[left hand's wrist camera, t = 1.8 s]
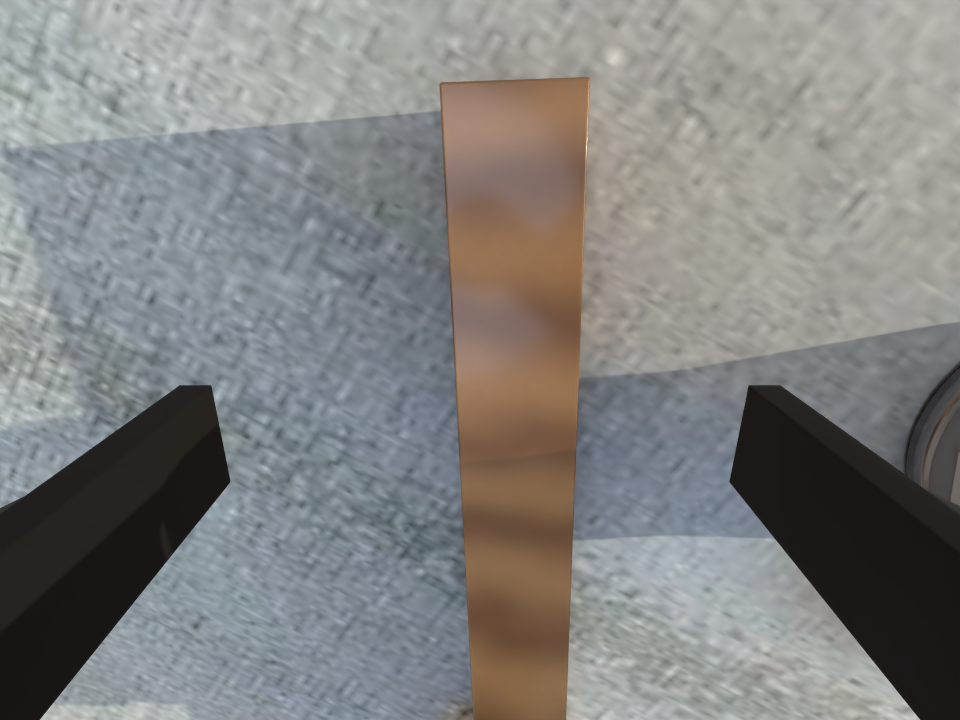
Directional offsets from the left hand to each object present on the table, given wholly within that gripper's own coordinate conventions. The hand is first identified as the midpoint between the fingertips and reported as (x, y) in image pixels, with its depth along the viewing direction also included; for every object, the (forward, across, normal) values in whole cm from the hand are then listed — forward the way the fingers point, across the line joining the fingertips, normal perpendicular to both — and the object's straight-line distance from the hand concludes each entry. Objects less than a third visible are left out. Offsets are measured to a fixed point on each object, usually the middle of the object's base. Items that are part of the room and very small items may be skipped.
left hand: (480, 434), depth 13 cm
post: (+16, +2, -26) cm, 31 cm away
